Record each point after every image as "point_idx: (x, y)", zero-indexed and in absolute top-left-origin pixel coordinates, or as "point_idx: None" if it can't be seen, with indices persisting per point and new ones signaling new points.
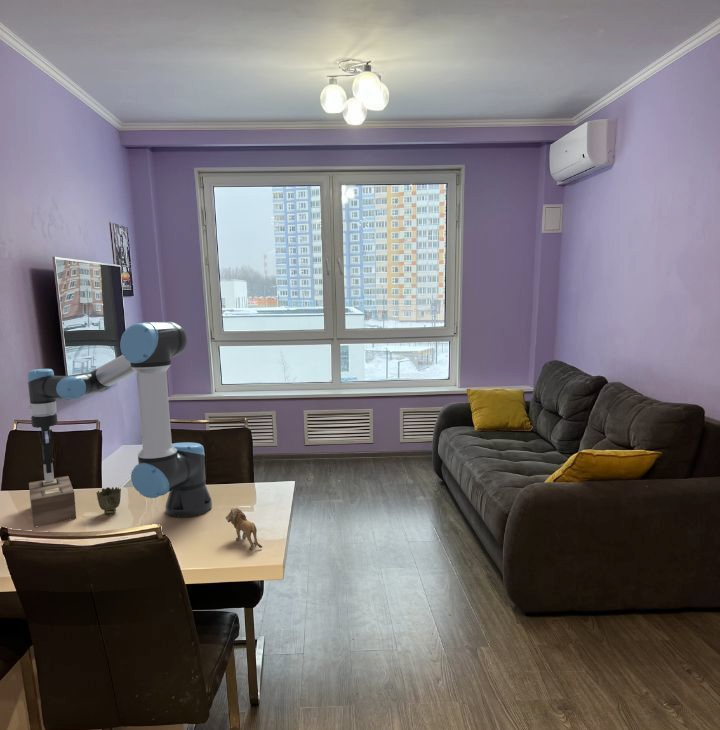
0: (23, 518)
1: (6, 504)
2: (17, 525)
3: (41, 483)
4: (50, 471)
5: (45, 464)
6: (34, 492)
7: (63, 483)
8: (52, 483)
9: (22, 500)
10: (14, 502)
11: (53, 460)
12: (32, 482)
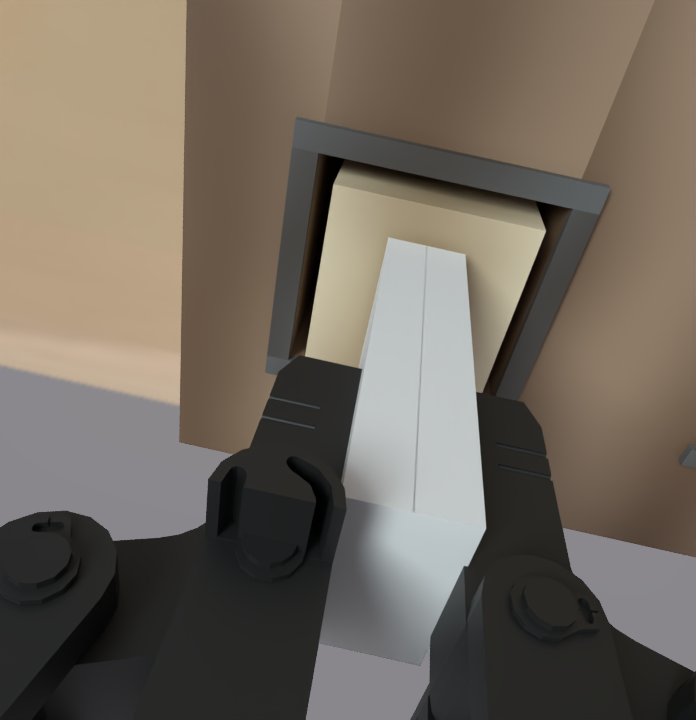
0: None
1: (67, 379)
2: None
3: None
4: (532, 440)
5: (435, 627)
6: (655, 514)
7: (646, 133)
8: (521, 288)
9: (28, 283)
10: (49, 334)
11: (329, 493)
12: (200, 416)
